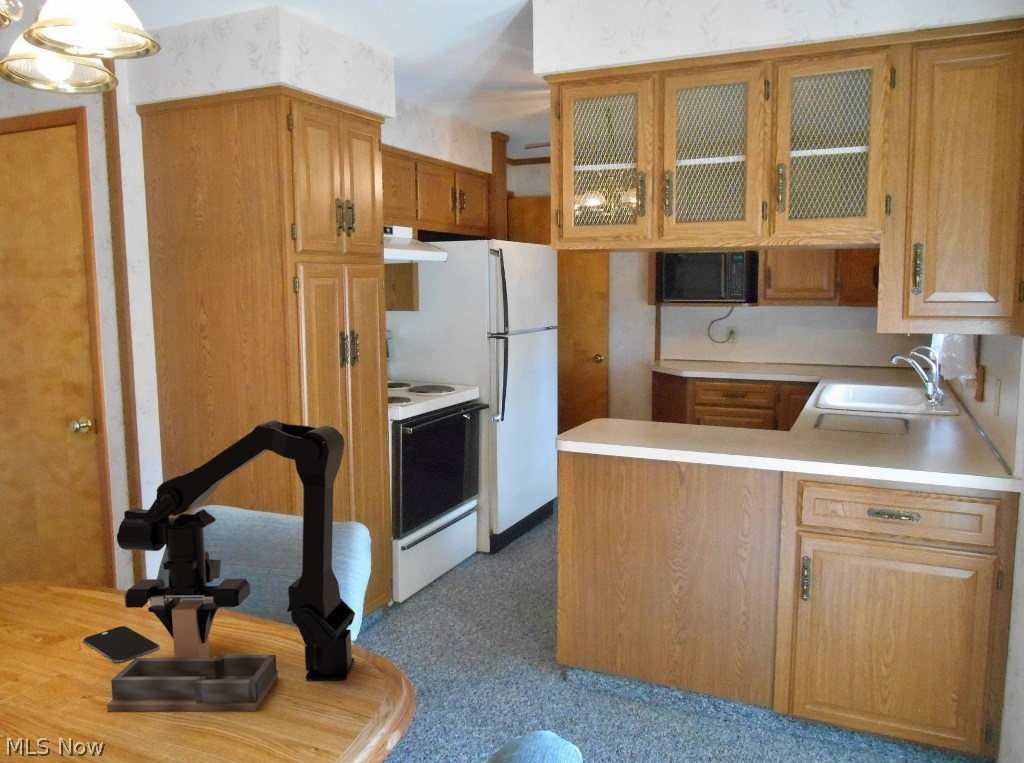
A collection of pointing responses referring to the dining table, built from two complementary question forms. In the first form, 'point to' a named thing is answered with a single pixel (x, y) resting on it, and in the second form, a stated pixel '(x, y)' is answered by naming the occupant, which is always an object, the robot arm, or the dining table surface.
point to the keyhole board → (194, 683)
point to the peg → (188, 631)
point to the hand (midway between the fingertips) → (191, 642)
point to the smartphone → (121, 644)
